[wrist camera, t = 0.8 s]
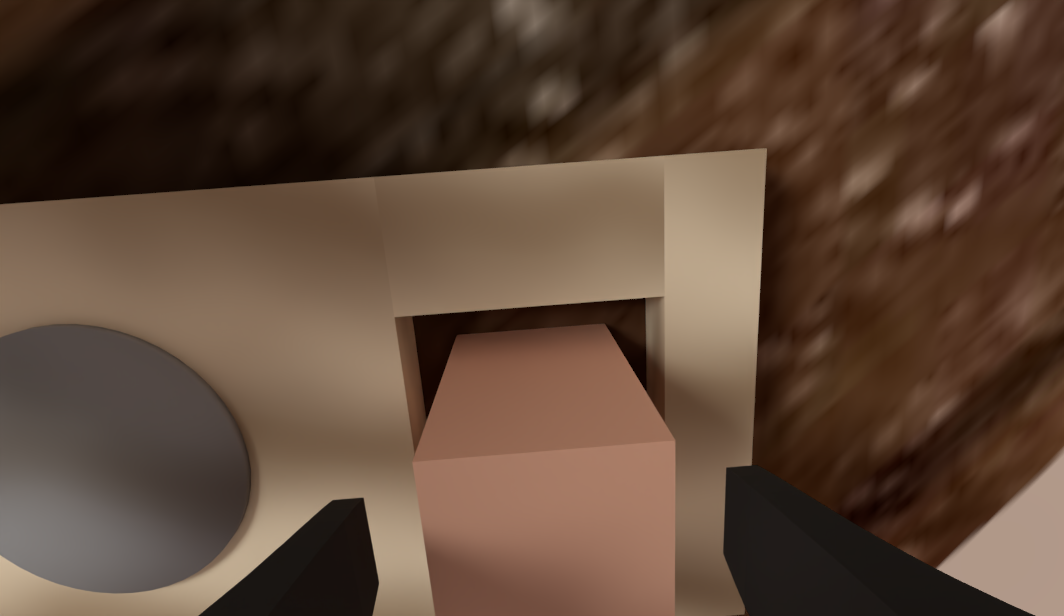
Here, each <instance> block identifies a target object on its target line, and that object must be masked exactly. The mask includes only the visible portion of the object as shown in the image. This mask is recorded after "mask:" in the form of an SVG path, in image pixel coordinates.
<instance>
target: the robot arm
mask: <svg viewBox="0 0 1064 616" xmlns="http://www.w3.org/2000/svg"><path fill="white" fill-rule="evenodd" d="M723 555H724V557H725V560H726V562H727V565H728V567H729V570H730V572H731V575H732V577H733V580H734V582H735V585H736V587H737V589H738V592H739V594H740V597H741V599H742V601H743V604H744V606H745V608H746V610H747V611H748V613H749V615H750V616H1035V615H1032V614H1030V613H1028V612H1025V611H1023V610H1021V609H1019V608H1016V607H1014V606H1012V605H1010V604H1008V603H1006V602H1004V601H1001V600H999V599H997V598H995V597H993V596H991V595H989V594H987V593H984V592H982V591H980V590H978V589H976V588H974V587H972V586H970V585H968V584H966V583H963V582H961V581H959V580H957V579H955V578H953V577H951V576H949V575H947V574H945V573H943V572H941V571H939V570H937V569H935V568H933V567H931V566H930V565H928V564H926V563H924V562H922V561H920V560H918V559H917V558H915V557H913V556H911V555H909V554H907V553H906V552H904V551H902V550H900V549H898V548H896V547H894V546H893V545H891V544H889V543H887V542H885V541H884V540H882V539H880V538H878V537H877V536H875V535H873V534H871V533H870V532H868V531H866V530H864V529H863V528H861V527H859V526H858V525H856V524H854V523H852V522H851V521H849V520H847V519H846V518H844V517H842V516H841V515H839V514H837V513H836V512H834V511H832V510H831V509H829V508H828V507H826V506H824V505H823V504H821V503H819V502H818V501H816V500H815V499H813V498H811V497H810V496H808V495H806V494H805V493H803V492H802V491H800V490H798V489H797V488H795V487H793V486H792V485H790V484H789V483H787V482H785V481H784V480H782V479H780V478H779V477H777V476H775V475H774V474H772V473H770V472H769V471H767V470H765V469H763V468H761V467H759V466H758V465H751V466H738V467H726V486H725V514H724V542H723ZM378 587H379V579H378V573H377V568H376V562H375V557H374V551H373V546H372V541H371V535H370V530H369V524H368V519H367V513H366V508H365V503H364V497H363V498H351V499H338V500H332V501H331V502H330V503H328V504H327V505H326V506H325V507H323V508H322V509H321V510H320V511H319V512H318V513H317V514H315V515H314V516H313V517H312V518H311V519H310V520H309V521H308V522H306V523H305V524H304V525H303V526H302V527H301V528H300V529H299V530H298V531H296V532H295V533H294V534H293V535H292V536H291V537H290V538H289V539H288V540H286V541H285V542H284V543H283V544H282V545H281V546H280V547H279V548H277V549H276V550H275V551H274V552H273V553H272V554H271V555H270V556H268V557H267V558H266V559H265V560H264V561H263V562H262V563H261V564H259V565H258V566H257V567H256V568H255V569H254V570H253V571H252V572H250V573H249V574H248V575H247V576H246V577H245V578H243V579H242V580H241V581H240V582H239V583H237V584H236V585H235V586H234V587H232V588H231V589H230V590H229V591H228V592H226V593H225V594H224V595H223V596H222V597H220V598H219V599H218V600H217V601H215V602H214V603H213V604H212V605H211V606H209V607H208V608H207V609H206V610H205V611H203V612H202V613H201V614H200V615H198V616H373V611H374V606H375V602H376V597H377V592H378Z"/></svg>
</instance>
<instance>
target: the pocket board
mask: <svg viewBox="0 0 1064 616" xmlns="http://www.w3.org/2000/svg"><path fill="white" fill-rule="evenodd" d="M766 154H767V148H764V149H750V150H736V151H723V152H709V153H695V154H682V155H668V156H654V157H641V158H627V159H613V160H600V161H586V162H572V163H559V164H545V165H531V166H518V167H504V168H490V169H477V170H463V171H449V172H436V173H422V174H408V175H395V176H381V177H367V178H354V179H340V180H326V181H313V182H299V183H285V184H272V185H258V186H244V187H231V188H217V189H203V190H190V191H176V192H162V193H149V194H135V195H121V196H108V197H94V198H80V199H67V200H53V201H39V202H26V203H12V204H0V616H198V615H200V614H201V613H202V612H203V611H205V610H206V609H207V608H208V607H209V606H211V605H212V604H213V603H214V602H215V601H217V600H218V599H219V598H220V597H222V596H223V595H224V594H225V593H226V592H228V591H229V590H230V589H231V588H232V587H234V586H235V585H236V584H237V583H239V582H240V581H241V580H242V579H243V578H245V577H246V576H247V575H248V574H249V573H250V572H252V571H253V570H254V569H255V568H256V567H257V566H258V565H259V564H261V563H262V562H263V561H264V560H265V559H266V558H267V557H268V556H270V555H271V554H272V553H273V552H274V551H275V550H276V549H277V548H279V547H280V546H281V545H282V544H283V543H284V542H285V541H286V540H288V539H289V538H290V537H291V536H292V535H293V534H294V533H295V532H296V531H298V530H299V529H300V528H301V527H302V526H303V525H304V524H305V523H306V522H308V521H309V520H310V519H311V518H312V517H313V516H314V515H315V514H317V513H318V512H319V511H320V510H321V509H322V508H323V507H325V506H326V505H327V504H328V503H330V502H331V501H332V500H338V499H351V498H363V497H364V503H365V508H366V513H367V519H368V524H369V530H370V535H371V541H372V546H373V551H374V557H375V562H376V568H377V573H378V579H379V587H378V592H377V597H376V602H375V606H374V611H373V616H435V611H434V604H433V598H432V591H431V584H430V578H429V571H428V564H427V557H426V551H425V544H424V537H423V531H422V524H421V517H420V511H419V504H418V497H417V490H416V484H415V477H414V470H413V464H412V461H413V458H414V456H415V453H416V450H417V447H418V444H419V441H420V439H421V436H422V433H423V430H424V427H425V424H426V421H427V419H426V412H425V405H424V398H423V390H422V383H421V376H420V369H419V361H418V354H417V347H416V340H415V332H414V325H413V318H412V316H417V315H430V314H443V313H456V312H468V311H481V310H494V309H507V308H520V307H533V306H546V305H559V304H572V303H585V302H598V301H611V300H624V299H636V298H645V301H646V380H647V394H648V396H649V398H650V399H651V401H652V403H653V404H654V406H655V408H656V409H657V411H658V412H659V414H660V416H661V417H662V419H663V421H664V422H665V424H666V426H667V427H668V429H669V431H670V432H671V434H672V436H673V437H674V439H675V616H730V615H742V614H745V606H744V604H743V601H742V599H741V597H740V594H739V592H738V589H737V587H736V585H735V582H734V580H733V577H732V575H731V572H730V570H729V567H728V565H727V562H726V560H725V557H724V555H723V542H724V514H725V486H726V467H738V466H751V465H752V447H753V426H754V405H755V384H756V363H757V342H758V321H759V300H760V279H761V258H762V237H763V217H764V196H765V175H766Z"/></svg>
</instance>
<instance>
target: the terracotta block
mask: <svg viewBox="0 0 1064 616" xmlns="http://www.w3.org/2000/svg"><path fill="white" fill-rule="evenodd" d="M412 464H413V470H414V477H415V484H416V490H417V497H418V504H419V511H420V517H421V524H422V531H423V537H424V544H425V551H426V557H427V564H428V571H429V578H430V584H431V591H432V598H433V604H434V611H435V616H675V439H674V437H673V436H672V434H671V432H670V431H669V429H668V427H667V426H666V424H665V422H664V421H663V419H662V417H661V416H660V414H659V412H658V411H657V409H656V408H655V406H654V404H653V403H652V401H651V399H650V398H649V396H648V394H647V393H646V391H645V389H644V388H643V386H642V384H641V383H640V381H639V379H638V378H637V376H636V375H635V373H634V371H633V370H632V368H631V366H630V365H629V363H628V361H627V360H626V358H625V356H624V355H623V353H622V351H621V350H620V348H619V346H618V345H617V343H616V341H615V340H614V338H613V337H612V335H611V333H610V332H609V330H608V328H607V327H606V325H605V323H603V324H591V325H578V326H565V327H552V328H539V329H526V330H514V331H501V332H488V333H475V334H462V335H457V336H456V339H455V342H454V345H453V348H452V350H451V353H450V356H449V359H448V362H447V365H446V367H445V370H444V373H443V376H442V379H441V382H440V385H439V387H438V390H437V393H436V396H435V399H434V402H433V404H432V407H431V410H430V413H429V416H428V419H427V421H426V424H425V427H424V430H423V433H422V436H421V439H420V441H419V444H418V447H417V450H416V453H415V456H414V458H413V461H412Z"/></svg>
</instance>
